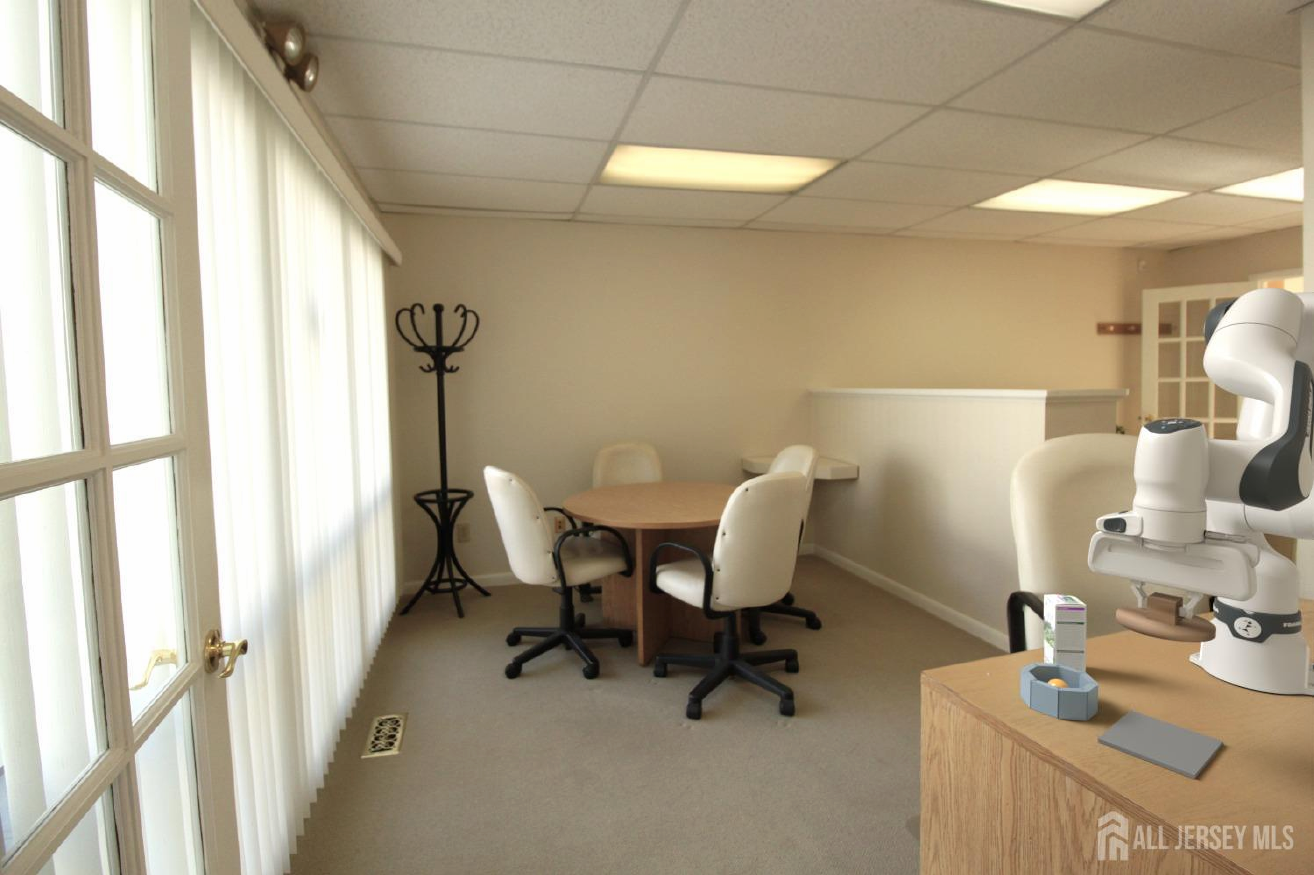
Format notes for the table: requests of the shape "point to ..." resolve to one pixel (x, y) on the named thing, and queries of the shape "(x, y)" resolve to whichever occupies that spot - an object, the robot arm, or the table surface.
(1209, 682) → the table surface
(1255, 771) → the table surface
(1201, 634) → the lid
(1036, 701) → the bowl
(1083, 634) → the syrup box
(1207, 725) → the table surface
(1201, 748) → the mat
